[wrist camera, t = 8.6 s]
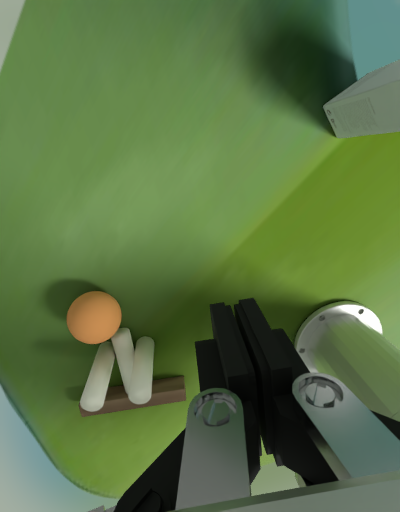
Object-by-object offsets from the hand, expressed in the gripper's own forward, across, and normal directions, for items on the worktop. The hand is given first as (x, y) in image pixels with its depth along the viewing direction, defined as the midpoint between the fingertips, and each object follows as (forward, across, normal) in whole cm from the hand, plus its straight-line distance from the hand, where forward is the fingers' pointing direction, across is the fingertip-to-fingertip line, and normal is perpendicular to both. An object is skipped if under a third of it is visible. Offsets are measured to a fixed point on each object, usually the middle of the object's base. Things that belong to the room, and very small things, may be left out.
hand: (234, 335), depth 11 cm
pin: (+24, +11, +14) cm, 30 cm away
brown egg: (+22, +13, +10) cm, 27 cm away
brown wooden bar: (+26, +11, +24) cm, 37 cm away
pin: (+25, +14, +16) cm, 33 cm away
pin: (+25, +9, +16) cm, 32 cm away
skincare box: (+26, -19, -10) cm, 33 cm away
